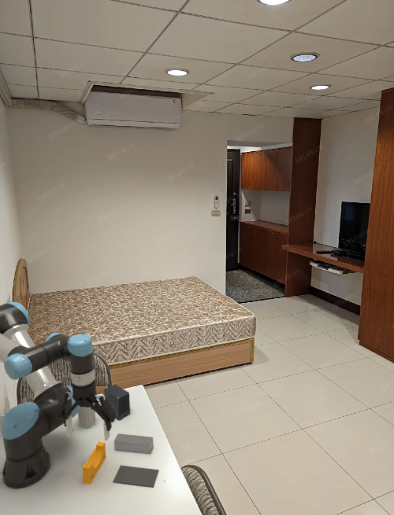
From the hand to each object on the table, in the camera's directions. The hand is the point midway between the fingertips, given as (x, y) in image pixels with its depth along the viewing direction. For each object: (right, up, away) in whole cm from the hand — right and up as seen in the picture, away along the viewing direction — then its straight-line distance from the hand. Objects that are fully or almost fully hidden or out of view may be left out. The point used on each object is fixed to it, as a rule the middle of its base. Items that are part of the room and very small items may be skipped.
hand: (88, 436), depth 121 cm
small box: (+3, -7, +33) cm, 34 cm away
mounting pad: (+17, -14, -1) cm, 21 cm away
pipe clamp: (+1, -13, +3) cm, 14 cm away
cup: (-9, -8, +26) cm, 29 cm away
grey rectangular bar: (+14, -11, +12) cm, 21 cm away
